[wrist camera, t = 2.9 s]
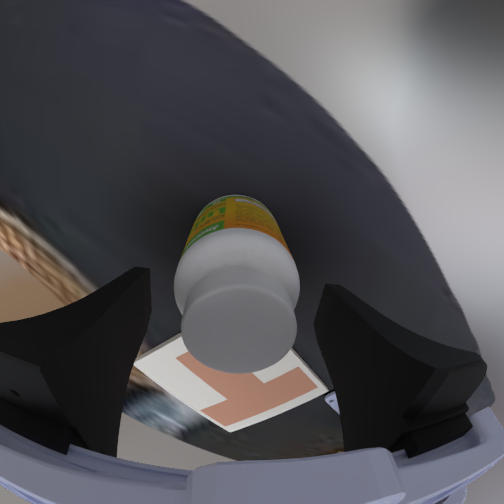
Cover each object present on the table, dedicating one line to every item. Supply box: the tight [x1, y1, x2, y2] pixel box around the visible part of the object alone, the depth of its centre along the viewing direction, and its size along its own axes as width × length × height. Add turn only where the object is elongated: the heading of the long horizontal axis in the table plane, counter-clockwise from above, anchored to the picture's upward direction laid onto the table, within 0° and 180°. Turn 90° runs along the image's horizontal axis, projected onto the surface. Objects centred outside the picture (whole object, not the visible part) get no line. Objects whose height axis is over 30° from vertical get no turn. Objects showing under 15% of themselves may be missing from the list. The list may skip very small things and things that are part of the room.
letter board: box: [134, 333, 328, 432], centre depth 23 cm, size 14×12×1 cm
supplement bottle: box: [174, 195, 300, 374], centre depth 14 cm, size 5×5×10 cm
